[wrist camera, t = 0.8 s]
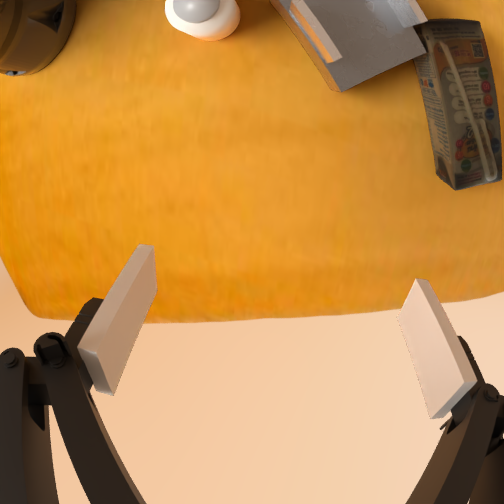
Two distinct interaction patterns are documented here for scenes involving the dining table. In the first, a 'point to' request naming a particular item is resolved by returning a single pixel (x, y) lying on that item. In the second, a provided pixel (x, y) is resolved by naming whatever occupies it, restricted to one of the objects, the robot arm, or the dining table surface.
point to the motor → (354, 35)
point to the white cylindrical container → (204, 17)
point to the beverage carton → (460, 102)
